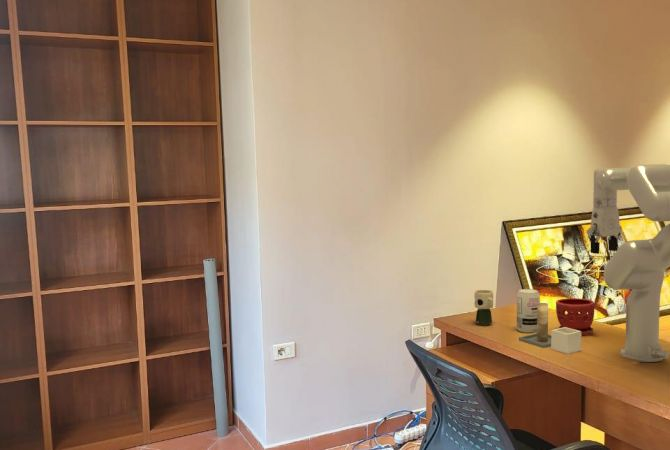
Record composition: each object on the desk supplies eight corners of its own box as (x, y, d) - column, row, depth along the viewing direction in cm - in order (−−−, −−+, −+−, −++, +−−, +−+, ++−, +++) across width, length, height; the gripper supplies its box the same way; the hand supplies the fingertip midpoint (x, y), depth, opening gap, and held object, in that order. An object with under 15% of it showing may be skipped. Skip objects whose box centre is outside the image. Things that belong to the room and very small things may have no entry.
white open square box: (581, 352, 208) (581, 331, 207) (567, 355, 204) (567, 334, 204) (564, 347, 213) (565, 327, 213) (551, 350, 210) (551, 330, 209)
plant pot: (596, 330, 232) (597, 298, 231) (590, 339, 221) (591, 306, 220) (559, 326, 239) (559, 295, 238) (552, 335, 228) (552, 302, 226)
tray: (566, 344, 217) (566, 339, 217) (543, 349, 211) (543, 344, 211) (541, 336, 226) (541, 332, 226) (518, 341, 221) (518, 337, 221)
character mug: (468, 322, 249) (468, 289, 248) (483, 319, 252) (483, 287, 250) (484, 328, 239) (484, 295, 238) (500, 326, 241) (500, 293, 240)
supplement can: (523, 326, 241) (523, 287, 239) (543, 330, 235) (543, 290, 233) (512, 330, 235) (512, 291, 233) (532, 334, 229) (533, 294, 228)
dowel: (550, 341, 218) (550, 304, 217) (542, 342, 216) (543, 305, 215) (542, 338, 221) (542, 302, 220) (534, 340, 219) (534, 303, 218)
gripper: (597, 205, 213) (596, 255, 215) (630, 202, 222) (629, 250, 223) (579, 204, 220) (578, 253, 221) (611, 201, 228) (610, 248, 230)
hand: (604, 251), depth 222 cm, fingers open, 9 cm apart
